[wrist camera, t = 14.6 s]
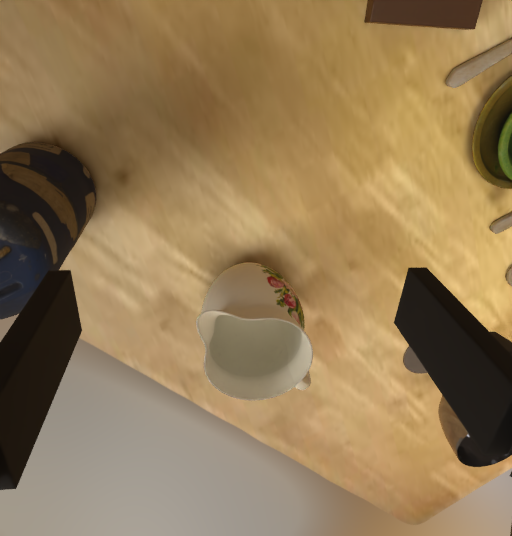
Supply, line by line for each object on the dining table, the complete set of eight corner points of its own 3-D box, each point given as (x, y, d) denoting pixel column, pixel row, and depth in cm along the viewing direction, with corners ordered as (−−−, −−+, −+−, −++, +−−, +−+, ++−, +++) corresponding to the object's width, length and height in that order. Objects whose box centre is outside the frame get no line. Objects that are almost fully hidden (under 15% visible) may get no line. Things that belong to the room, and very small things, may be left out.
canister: (-20, 149, 39) (-169, 223, 23) (78, 128, 39) (-5, 188, 23) (26, 238, 44) (-72, 349, 28) (113, 219, 44) (64, 320, 28)
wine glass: (439, 377, 61) (503, 468, 48) (392, 372, 60) (444, 465, 47) (464, 336, 58) (539, 422, 45) (414, 329, 56) (478, 416, 43)
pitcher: (261, 356, 56) (277, 443, 44) (166, 271, 48) (154, 349, 36) (327, 311, 53) (363, 390, 41) (238, 212, 45) (251, 275, 33)
